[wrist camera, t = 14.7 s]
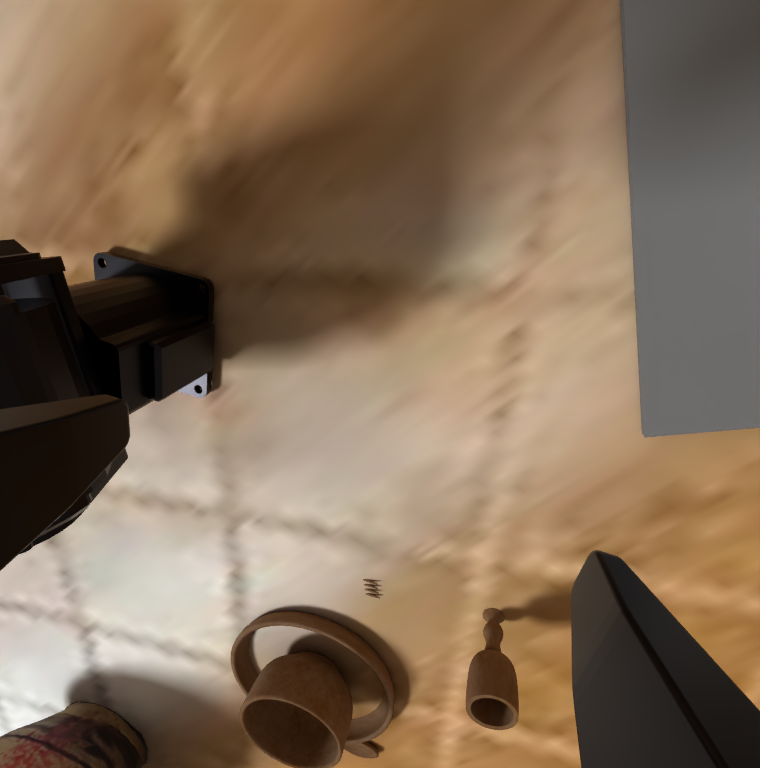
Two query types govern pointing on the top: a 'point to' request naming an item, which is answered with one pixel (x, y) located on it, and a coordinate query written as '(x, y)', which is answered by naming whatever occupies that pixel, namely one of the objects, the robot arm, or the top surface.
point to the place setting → (348, 693)
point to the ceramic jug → (74, 741)
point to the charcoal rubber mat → (695, 210)
